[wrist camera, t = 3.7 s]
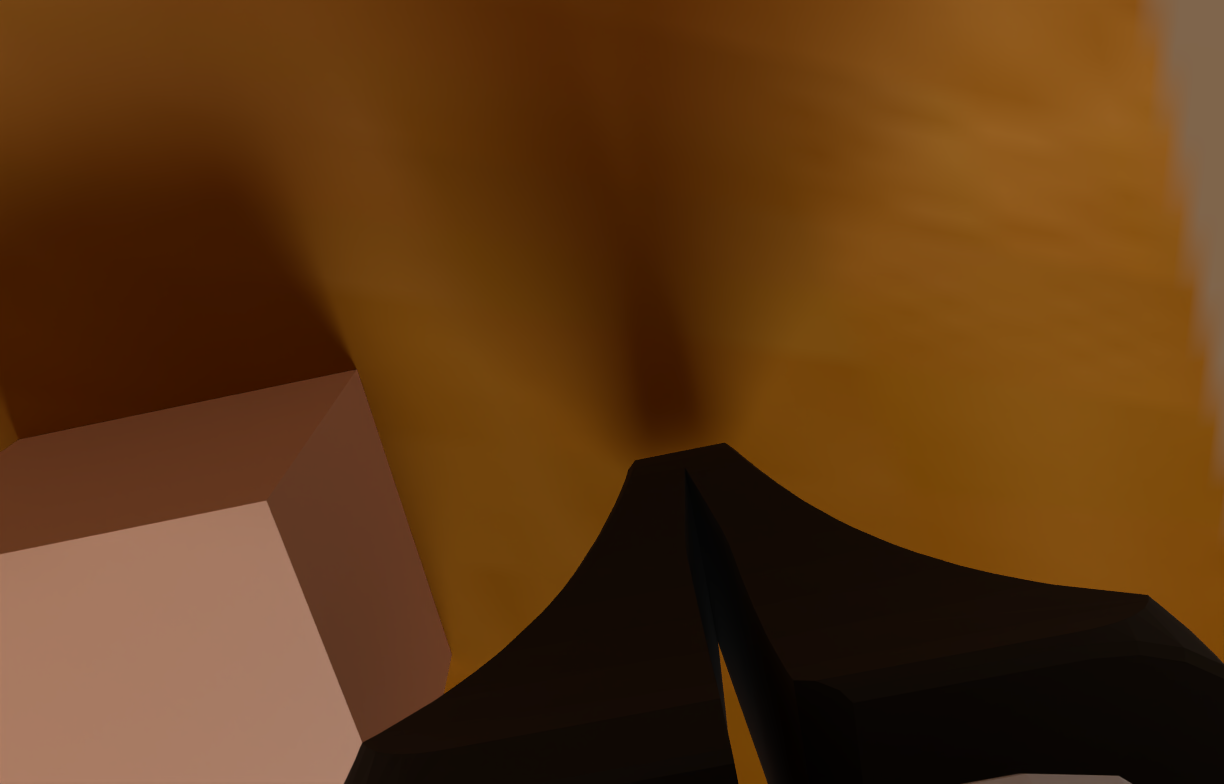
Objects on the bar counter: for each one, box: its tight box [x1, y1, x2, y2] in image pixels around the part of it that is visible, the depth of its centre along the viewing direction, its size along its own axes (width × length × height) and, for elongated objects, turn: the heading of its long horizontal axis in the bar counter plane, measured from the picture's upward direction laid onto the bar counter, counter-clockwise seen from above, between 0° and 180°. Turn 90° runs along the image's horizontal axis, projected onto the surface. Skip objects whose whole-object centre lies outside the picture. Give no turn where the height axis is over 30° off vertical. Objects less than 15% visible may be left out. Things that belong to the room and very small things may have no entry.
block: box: [0, 369, 452, 784], centre depth 12 cm, size 5×5×4 cm
